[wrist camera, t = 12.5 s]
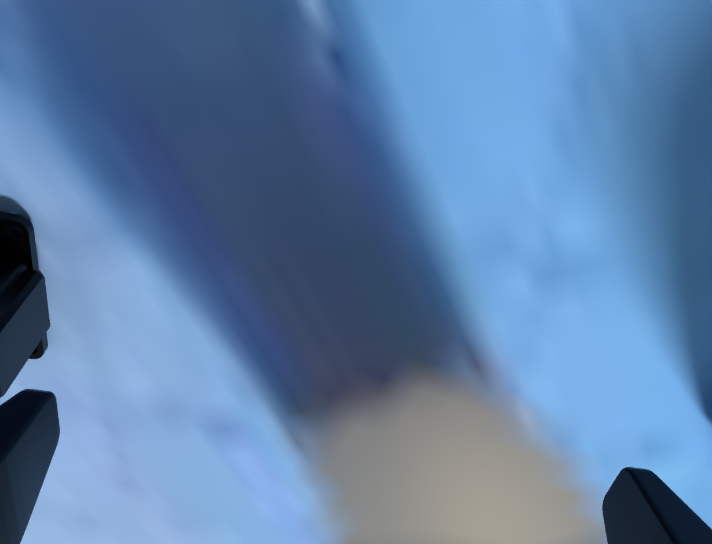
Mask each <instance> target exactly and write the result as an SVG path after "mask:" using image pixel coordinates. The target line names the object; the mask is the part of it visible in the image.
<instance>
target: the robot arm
mask: <svg viewBox="0 0 712 544" xmlns="http://www.w3.org/2000/svg"><path fill="white" fill-rule="evenodd" d="M12 226H15V227H17V228H19V229H20V230H21V233H19V232H16V231H15V230H14V229H13V227H12ZM49 327H50V320H49V312H48V303H47V295H46V286H45V278H44V276H43V274H42V273H41V271H39V268H38V260H37V252H36V243H35V235H34V228H33V225H32V223H31V222H30V221H29V220H28V219H27V218H25V217H24V216H21V215H17V214H11V213H4V212H0V398H1V397H2V396H4V394H5V393H6V391H7V390H8V388H9V387H10V385H11V384H12V382H13V381H14V380H15V378H16V377H17V375H18V374H19V372H20V371H21V369H22V368H23V366H24V365H25V363H26V362H27V360H28V359H38V358H40V357H42V355H43V354H44V353H45V351H46V350H47V347H48V342H47V334H46V332H47V330H48V329H49ZM59 434H60V427H59V418H58V410H57V401H56V397H55V395H54V393H52V392H50V391H43V390H35V389H25V390H23V391H21V392H19V393H18V394H16V395H15V396H13V397H12V398H10V399H9V400H7V401H6V402H4V403H3V404H2V405H0V544H20V542H21V540H22V537H23V535H24V532H25V530H26V527H27V525H28V522H29V519H30V517H31V514H32V511H33V509H34V506H35V503H36V501H37V498H38V495H39V492H40V490H41V487H42V484H43V482H44V479H45V476H46V474H47V471H48V468H49V465H50V463H51V460H52V457H53V455H54V452H55V449H56V447H57V444H58V440H59ZM602 511H603V518H604V524H605V530H606V536H607V542H608V544H712V529H711V528H710V527H709V526H708V525H707V524H706V523H705V522H704V521H703V520H702V519H701V518H700V517H699V516H698V515H697V514H696V513H695V512H694V511H692V510H691V509H690V508H689V507H688V506H687V505H686V504H685V503H684V502H683V501H682V500H681V499H680V498H679V497H678V496H677V495H676V494H675V493H674V492H673V491H672V490H671V489H670V488H669V487H668V486H667V485H666V484H665V483H664V482H663V481H662V480H661V479H660V478H659V477H658V476H657V475H656V474H654V473H653V472H652V471H650V470H647V469H641V468H634V467H626V468H624V469H622V470H621V471H620V473H619V474H618V476H617V478H616V479H615V481H614V482H613V484H612V486H611V487H610V489H609V490H608V492H607V493H606V495H605V497H604V500H603V506H602Z"/></svg>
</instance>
